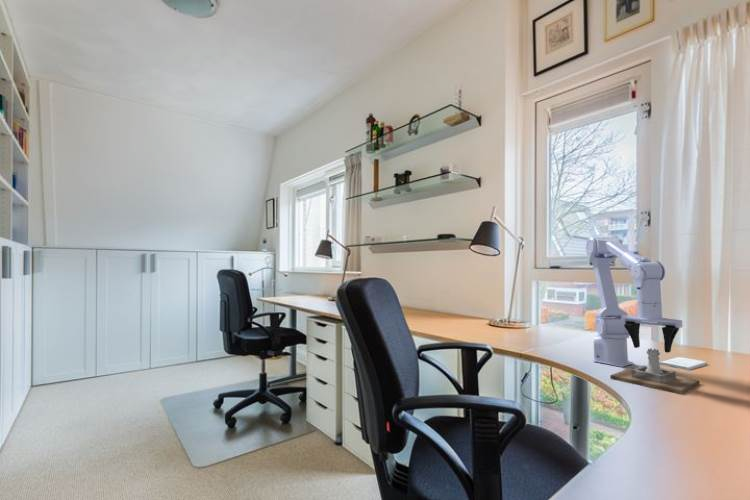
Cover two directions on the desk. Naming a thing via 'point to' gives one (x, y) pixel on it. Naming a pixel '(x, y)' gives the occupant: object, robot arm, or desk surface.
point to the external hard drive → (683, 363)
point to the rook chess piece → (654, 362)
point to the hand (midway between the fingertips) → (651, 349)
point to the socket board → (656, 379)
